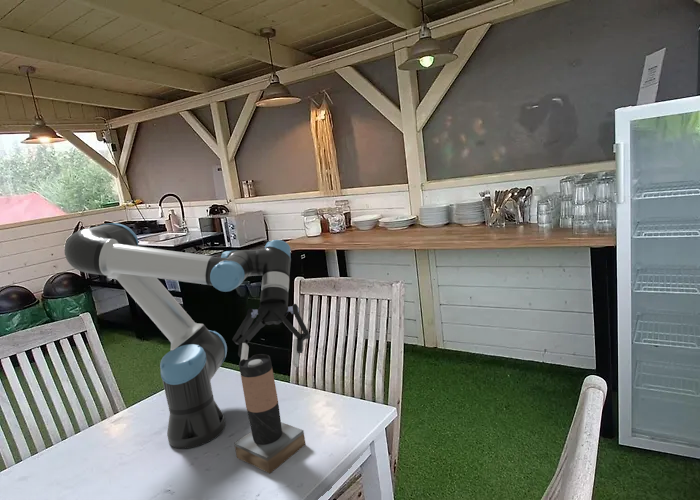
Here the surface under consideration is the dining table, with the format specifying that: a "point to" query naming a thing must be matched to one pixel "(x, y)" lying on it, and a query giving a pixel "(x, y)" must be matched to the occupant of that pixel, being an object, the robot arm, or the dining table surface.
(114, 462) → the dining table surface
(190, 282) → the robot arm
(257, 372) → the travel mug
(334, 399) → the dining table surface
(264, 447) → the walnut stand
